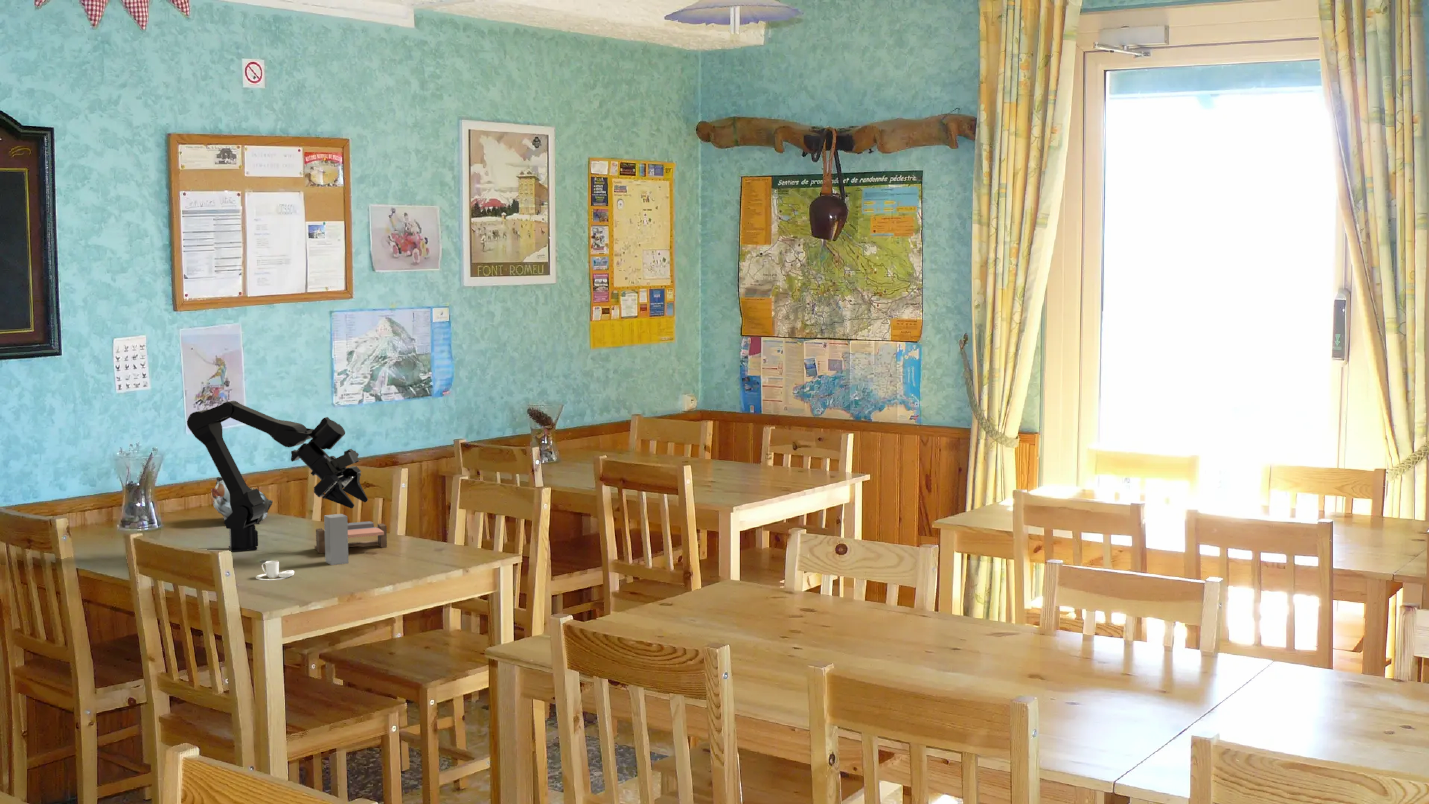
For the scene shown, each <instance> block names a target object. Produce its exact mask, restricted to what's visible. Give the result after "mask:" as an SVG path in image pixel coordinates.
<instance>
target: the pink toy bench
mask: <svg viewBox="0 0 1429 804" xmlns="http://www.w3.org/2000/svg"><path fill="white" fill-rule="evenodd" d="M377 527H378V528H379V529H381V530H382V531H383V532H384V535H377V539H376V540H365V541H354V542H348V548H352V547H353V548H354V547H364V546H376V545H377V546H379V547H380V548H381V549H382V548H388V539H387V538H388V536H387V535H388V534H387V531H388V530H387V529H388V528H387V525H386V524H384V523H377ZM315 544H316V545H314V550H316V552H317V553H318V554H325V529H323V528H321V527H320V528H316V529H315Z"/></svg>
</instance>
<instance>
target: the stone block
mask: <svg viewBox="0 0 1429 804" xmlns="http://www.w3.org/2000/svg"><path fill="white" fill-rule="evenodd" d="M323 518H324V519H323V520H324V523H323V525H324V526H323V527H324V529H323V530H324V531H325V553H324V558H325V559H324V560H325V561H324V562H325V564H328V565H330V566H333V565H335V566H337V565H342V564H343V565H344V564H349V547H348V543H349V538H348V523H349V522H348V516H347V515H345V514H343V513H335V514H326V515H323Z"/></svg>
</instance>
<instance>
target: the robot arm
mask: <svg viewBox="0 0 1429 804" xmlns="http://www.w3.org/2000/svg"><path fill="white" fill-rule="evenodd" d="M228 419H229V420H230V419H232V420H235V421H237V422H239V423H241V424H244V425H246V426H248V427H252V428H254V429H256V430H257V431H258V430H259V431H261V432H263V433H265V434H267V435H269V436H270V437H271V438H272V439H273V440H274V441H275V442H277V443H278V444H280V445H282V446H283V447H285V448H293V447H296V446H299V447H298V448H297V449H294V450H291V452H290V453H291V457H290V461H291V462H295V461H299V460H301V461H302V462H303V463H304V464H305V466H307V467H308V468H309V469H310V471H311V472H310V474H311V475H312V476H313V477H314V476H317V477H318V478H319V481H318V483H317V484H316V485H315V486H314V487H313V493H314V494H315V495H316V496H317V497H318V498H322V499H325V500H328V501H331V502H332V503H333V502H334V503H337V504H340V505H342V506H344V507H346V508H349V509H353V508H354V507H355V504H354V502H353V501H352V500H351V498H350V497H349V496H348V495H350V496H352V497H354V498H355V499H357V500H359V501H361V502H362V503H367V502H368V501H369V499H368V496H367V495H366V493H365V490H364V489H363V487H362V484H361V482H360V480H361V476H362V474H361V473H362V470H361V469H360V468H359V467H358V466H355V465H354V464H357V463H358V462H360V459H359V455H360V454H359V453H358V452H357V451H356V450H353V448H349V449H347V450H344V451H343V455H340V456H338V457H336V456H335V455H328V453H327V452H326V451H325V450H331V449H332V448H334V446H335V445H336V444H337V443H339V442H340V440H341V439H342V438H343V437H344V436H345V435H346V431H345V429H344V427H343V426H342V425H341V424H340V423H337V422H336V421H335V420H332V419H331V418H329V417H328V416H325V417H322V419H321V420H320V421H319V423H318V425H316V426H315V428H307V426H305V425H304V424H302V423H299V422H295V421H289V420H284V419H283V420H282V419H278V418H274V417H273V416H269V415H268V414H265V413H263V412H260V411H258V410H255V409H254V408H251V407H248V406H246V405H244V404H242V403H240V402H238V401H236V400H230V401H229V400H228V401H224V402H223V403H222V404H219V405H217V406H214V407H212V408H209V409H203V410H198V411H194V412H192V413H190V414H189V416H188V418H187V420H186V424H187V428H188V429H189V431H190V432H191V433H192V435H193V437H195V439H196V440H198V441H199V442H200V443H202V444H203V445H204V446H205V449H206V451H207V452H208V455H209V456H210V458H211V460H212V462H213V464H214V466H215V467H216V470H217V471H218V474H219V476H220V478H222V479H223V481H224V483H225V485H226V487H227V489H228V491H229V494H230V506H231V509H232V513H231V514H230V516H229V517H228V518H227V519H226V520H223V523H224V526H225V528H226V529H227V530H229V531H228V533H229V545H228V548H229V550H230V551H231V552H232V551H233V552H245V551H255V550H258V546H259V532H258V530H257V529H256V525H258V524H257V523H258V521H259V518H260V517H261V516H262V514H263V512H264V509H265V506H264V504H263V502H265V501H264V500H263V499H262V497H261V495H260V492H261V491H260V490H259V488H254V490H252V489H250V488H251V487H249V486H248V484H246V481H245V479H244V478H243V476H242V473H241V471H240V470H239V467H238V466H237V463H236V462H235V460H234V458H233V455H232V454H231V452H230V450H229V448H228V446H227V444H226V442H225V440H224V438H223V436H224V435H223V425H222V423H223V422H224V421H227V420H228ZM307 440H309V442H307V443H306V441H307ZM351 465H353V466H351ZM348 466H349V467H348ZM259 491H260V492H259Z"/></svg>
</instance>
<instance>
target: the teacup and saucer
mask: <svg viewBox="0 0 1429 804" xmlns="http://www.w3.org/2000/svg"><path fill="white" fill-rule="evenodd" d="M264 565H265V568H264ZM261 569H262V571H263V572H264V573H261V574H258V575H256V576H255V579H256V580H259V581H279V580H284V579H287V578H289V577H292V576H294V574H295V570H293V569H290V570H289V569H288V570H283V571H280V562H279V560H267V561H265V562H263V563H262V564H261ZM264 576H266V577H267V579H266V578H263V577H264ZM277 577H279V578H277ZM274 578H275V579H274Z"/></svg>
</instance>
